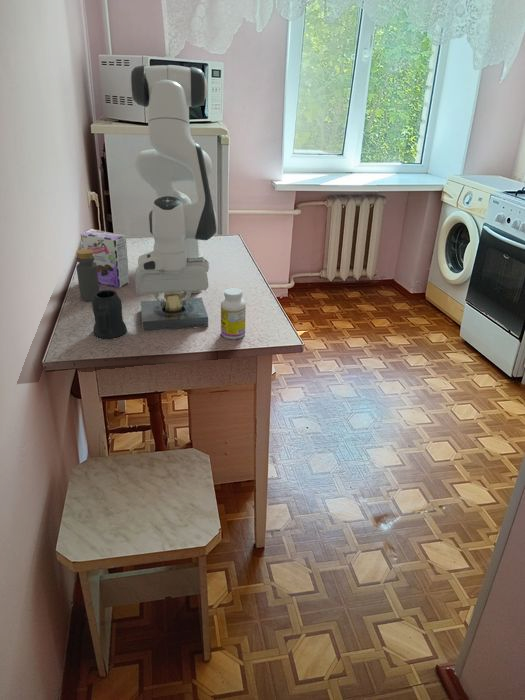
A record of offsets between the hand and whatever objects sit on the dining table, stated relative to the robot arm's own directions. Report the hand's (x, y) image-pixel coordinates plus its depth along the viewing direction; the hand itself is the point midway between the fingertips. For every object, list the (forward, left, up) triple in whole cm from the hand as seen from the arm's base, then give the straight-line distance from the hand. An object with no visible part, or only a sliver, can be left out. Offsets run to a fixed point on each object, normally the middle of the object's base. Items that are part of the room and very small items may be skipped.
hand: (173, 305), depth 152 cm
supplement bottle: (+13, +15, -4) cm, 20 cm away
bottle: (-19, -24, -4) cm, 31 cm away
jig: (0, 0, -4) cm, 4 cm away
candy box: (-32, -19, -4) cm, 37 cm away
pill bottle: (-20, +8, -4) cm, 22 cm away
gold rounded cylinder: (0, 0, -4) cm, 4 cm away
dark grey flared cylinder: (+7, -18, -4) cm, 20 cm away
